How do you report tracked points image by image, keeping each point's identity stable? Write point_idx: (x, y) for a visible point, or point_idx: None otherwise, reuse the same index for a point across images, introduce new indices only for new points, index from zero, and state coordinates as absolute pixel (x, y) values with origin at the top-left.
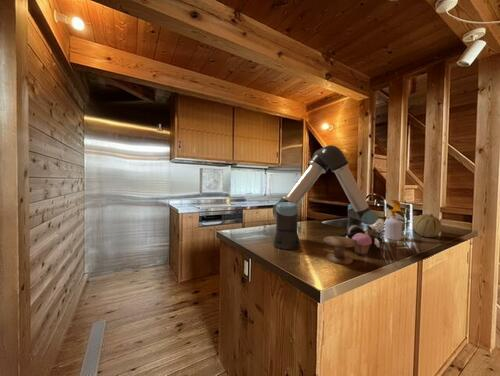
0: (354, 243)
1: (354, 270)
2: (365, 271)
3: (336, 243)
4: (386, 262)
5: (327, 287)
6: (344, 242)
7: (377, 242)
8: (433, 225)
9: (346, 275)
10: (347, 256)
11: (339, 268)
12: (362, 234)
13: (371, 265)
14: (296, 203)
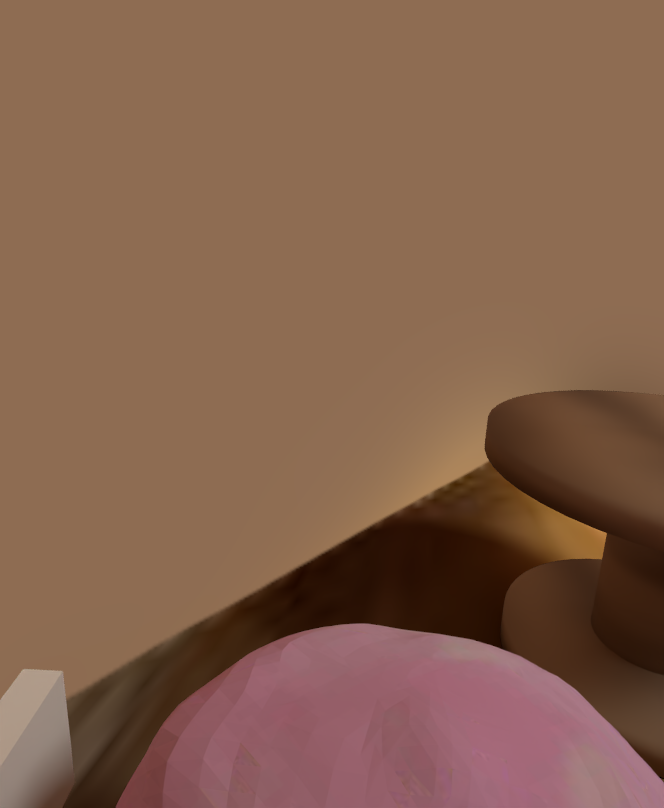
0: (505, 407)
1: (465, 526)
2: (394, 526)
3: (656, 398)
4: (108, 711)
5: None
6: (606, 412)
7: (58, 704)
8: None
9: (501, 484)
10: (580, 673)
11: (566, 532)
12: (410, 667)
13: (326, 608)
14: None
